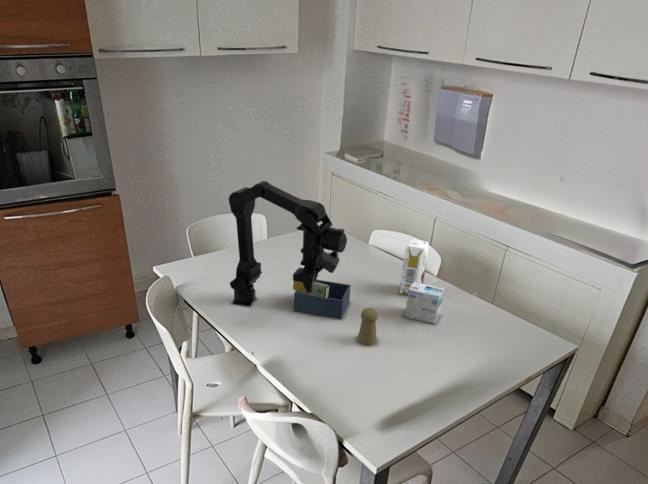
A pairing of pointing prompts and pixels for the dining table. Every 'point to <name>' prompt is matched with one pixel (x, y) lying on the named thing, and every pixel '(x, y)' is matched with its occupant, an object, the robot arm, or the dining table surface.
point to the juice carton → (413, 264)
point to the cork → (368, 327)
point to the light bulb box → (424, 302)
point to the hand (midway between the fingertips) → (310, 290)
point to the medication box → (313, 289)
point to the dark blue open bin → (324, 301)
